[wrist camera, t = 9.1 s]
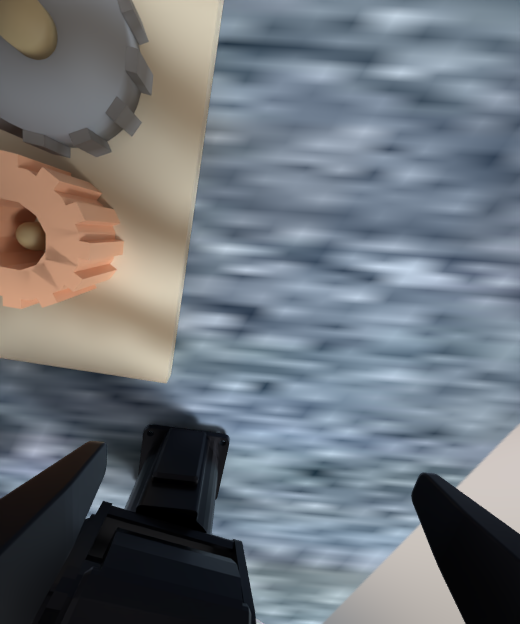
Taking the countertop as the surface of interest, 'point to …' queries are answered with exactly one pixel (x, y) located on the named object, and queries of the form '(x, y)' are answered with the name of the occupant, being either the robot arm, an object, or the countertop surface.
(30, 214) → the coral gear
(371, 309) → the countertop surface
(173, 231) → the gear board
